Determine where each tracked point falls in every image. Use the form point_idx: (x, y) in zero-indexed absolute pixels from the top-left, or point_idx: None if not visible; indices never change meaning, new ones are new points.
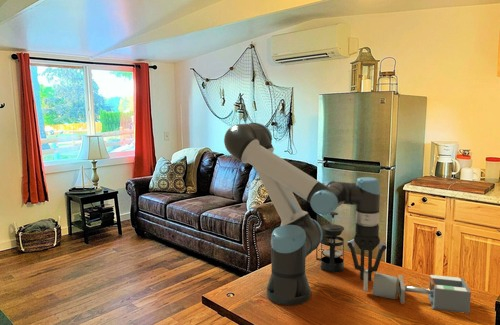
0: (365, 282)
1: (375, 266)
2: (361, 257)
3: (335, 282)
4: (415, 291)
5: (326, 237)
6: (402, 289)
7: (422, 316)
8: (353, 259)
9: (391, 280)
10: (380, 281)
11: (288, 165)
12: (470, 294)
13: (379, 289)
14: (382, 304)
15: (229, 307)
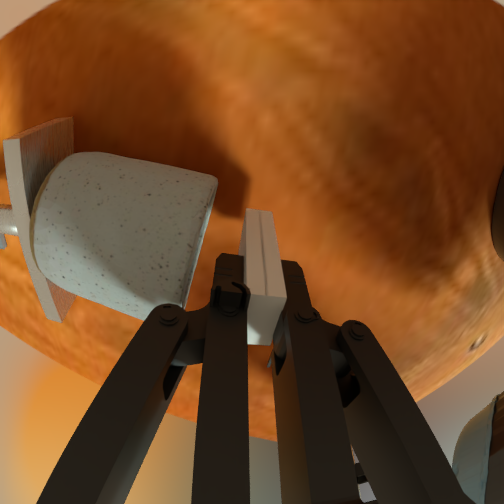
0: (263, 241)
1: (160, 350)
2: (340, 448)
3: (370, 304)
4: (1, 205)
5: (363, 478)
6: (14, 138)
7: (18, 51)
8: (411, 405)
9: (60, 226)
10: (142, 214)
11: None
12: None
13: (166, 171)
14: (171, 103)
15: None
